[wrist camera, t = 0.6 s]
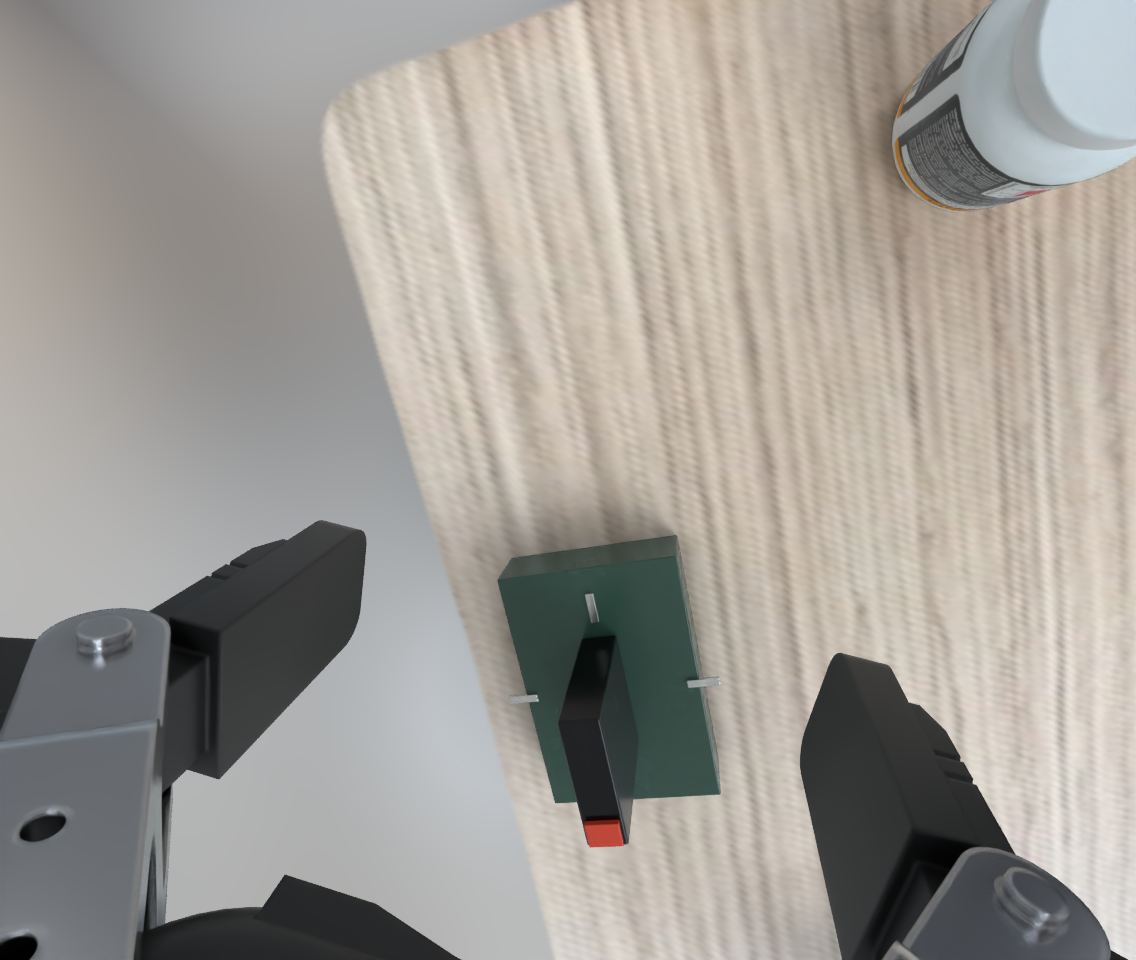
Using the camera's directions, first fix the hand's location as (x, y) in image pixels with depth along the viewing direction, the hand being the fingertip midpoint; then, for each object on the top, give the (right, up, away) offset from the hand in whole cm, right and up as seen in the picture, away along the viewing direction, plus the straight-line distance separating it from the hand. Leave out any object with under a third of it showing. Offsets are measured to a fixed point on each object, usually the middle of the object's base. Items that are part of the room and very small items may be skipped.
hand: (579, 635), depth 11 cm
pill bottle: (+14, +15, +13) cm, 25 cm away
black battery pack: (+2, -7, +19) cm, 20 cm away
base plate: (+2, -6, +21) cm, 22 cm away
